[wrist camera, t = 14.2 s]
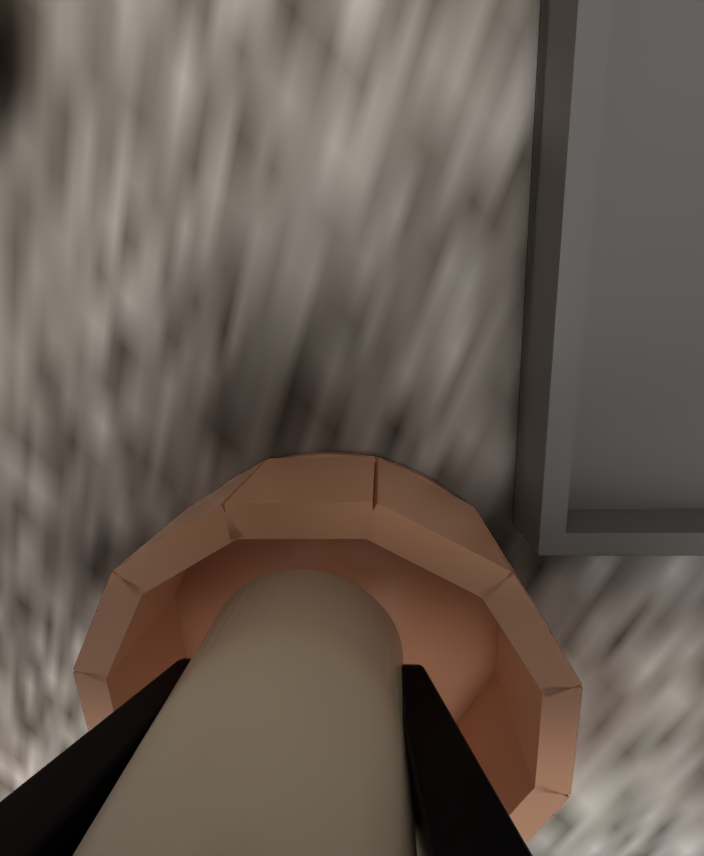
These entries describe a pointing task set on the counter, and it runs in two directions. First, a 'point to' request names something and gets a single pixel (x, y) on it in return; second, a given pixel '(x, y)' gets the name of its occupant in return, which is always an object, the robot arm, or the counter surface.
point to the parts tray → (615, 284)
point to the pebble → (274, 735)
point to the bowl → (379, 576)
